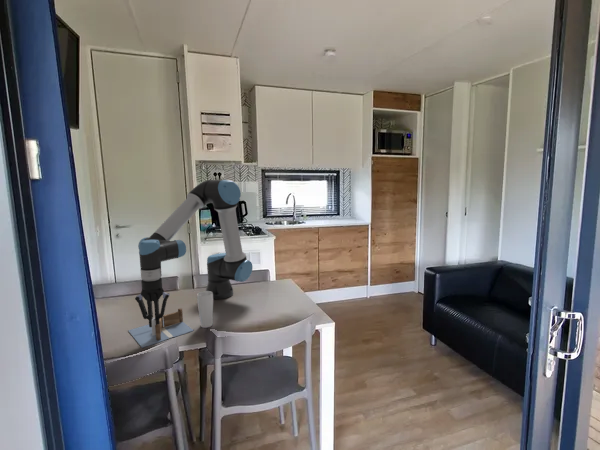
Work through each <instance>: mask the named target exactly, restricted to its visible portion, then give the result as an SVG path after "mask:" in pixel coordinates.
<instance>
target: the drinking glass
mask: <svg viewBox="0 0 600 450" xmlns="http://www.w3.org/2000/svg"><path fill="white" fill-rule="evenodd" d="M196 301H197V309H198V315H199V316H198V317H199V324H200V327H201V328H203V329H204V328H205V329H207V328H210V327H212V326H213V323H214V322H213V321H214V319H213V317H214V299H213V292H211V291H206V290H203V291H200V292H198V293H197V294H196Z"/></svg>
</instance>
